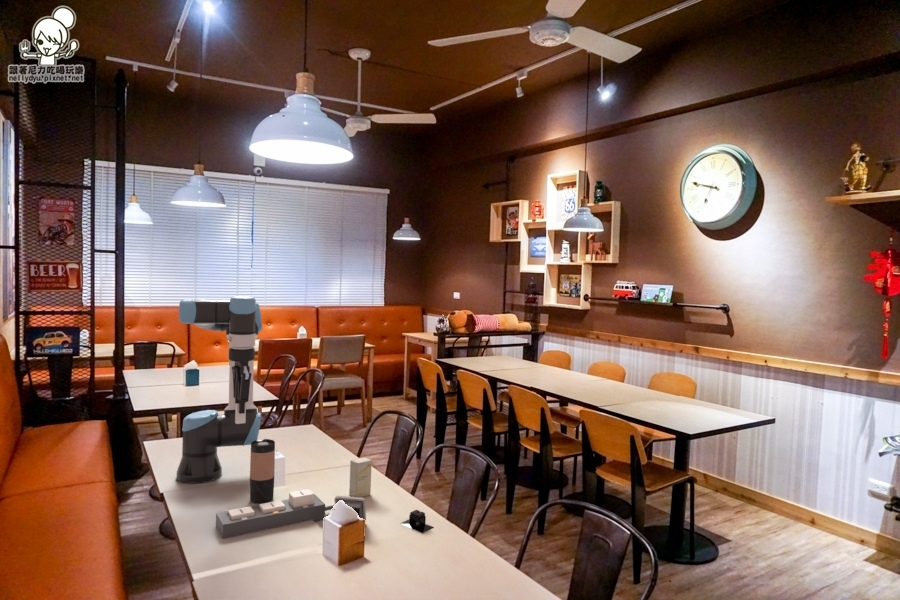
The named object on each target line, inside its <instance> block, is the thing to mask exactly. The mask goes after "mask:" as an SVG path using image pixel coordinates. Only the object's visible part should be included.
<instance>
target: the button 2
mask: <svg viewBox="0 0 900 600" xmlns="http://www.w3.org/2000/svg"><path fill="white" fill-rule="evenodd" d="M258 505H259V510H260V511H261V512H262V514H264V513H269V512H274V511H280V510H285V505H284V504H283V503H282V500H281V499H280V500H273V501H271V502H268V503H264V504H258Z"/></svg>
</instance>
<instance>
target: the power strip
mask: <svg viewBox="0 0 900 600" xmlns="http://www.w3.org/2000/svg"><path fill="white" fill-rule="evenodd" d="M281 501H282V503H283V504H284V505H285V510H280V511H274V512H269V513H264V514H262V512H261V511H260V510H259V504H255V505H251V508H252V509H253V510H254V516H249V517H244V518H239V519H234V520H230V518H229V517H228V510H224V511H218V512H215V528H216V529H217V531H218V533H219V535H220V536H221V538H222V539H228V538H229V539H230V538H233V537H239V536H243V535H246V534H247V535H248V534H252V533H256V532H261V531H267V530H271V529H275V528H279V527H284V526H290V525H293V524H298V523H303V522H304V523H305V522H308V521H313V522H314V523H318V522H322V521H324V520H323V518H324V517H325V518H326V511H331V509H332V508H333V506H334V505H335V504H333V505H329V506H326V503H325V502H324V501H322V500H321V499H320V498H319V497H318V496H317V495H316V494H315V493H314V504H310V505H305V506H300V507H295V508H293V507H292V506H291V505H290V504H289V498H288V499H287V498H286V499H282V500H281ZM332 510H333V509H332Z"/></svg>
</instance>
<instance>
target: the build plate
mask: <svg viewBox="0 0 900 600" xmlns="http://www.w3.org/2000/svg"><path fill="white" fill-rule="evenodd" d="M408 516H409V518H408V519H407V520H405V521H402V522H400V523H399V524H400V525H403V526H404V527H407V528H409V529H411V530H414V531H417V532H418V533H421V534H425V533H426V532H428V531H430V530H432V529H434V528H435V527H434V526H432V525H430V524H428V523H426V522H427V521H426V517H427V516H426V512H423V511H420V510H418V509H415V510H412V511H410V512H409V515H408Z"/></svg>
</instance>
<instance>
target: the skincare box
mask: <svg viewBox="0 0 900 600" xmlns="http://www.w3.org/2000/svg"><path fill="white" fill-rule="evenodd" d="M349 464H350V465H349V466H350V467H349V489H348V490H349V495H348V496H350V497H358V498H364V497H366V496H369V495H371V491H372V489H371V487H372V464H373V463H372V459H370V458H368V457H365V456H363V457H359V458H355V459H350V463H349Z"/></svg>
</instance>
